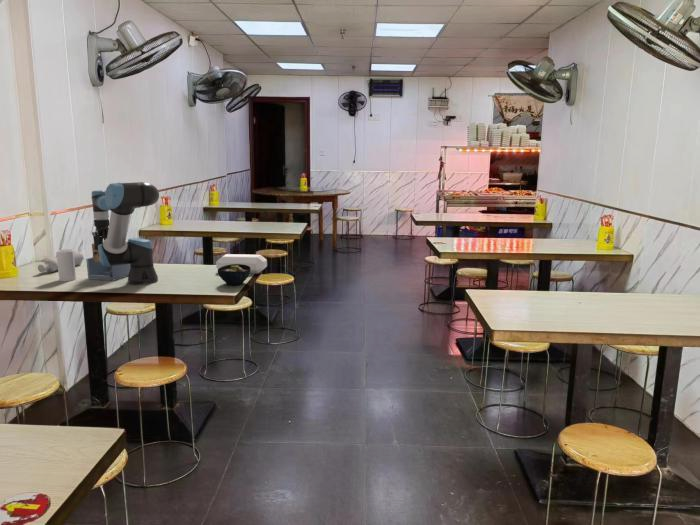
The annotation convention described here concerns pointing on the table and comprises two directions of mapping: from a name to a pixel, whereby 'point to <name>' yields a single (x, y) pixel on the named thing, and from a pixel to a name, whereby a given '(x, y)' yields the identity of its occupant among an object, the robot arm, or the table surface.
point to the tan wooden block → (95, 254)
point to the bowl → (234, 274)
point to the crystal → (243, 261)
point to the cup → (66, 265)
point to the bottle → (52, 264)
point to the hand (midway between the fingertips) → (105, 260)
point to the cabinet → (106, 270)
